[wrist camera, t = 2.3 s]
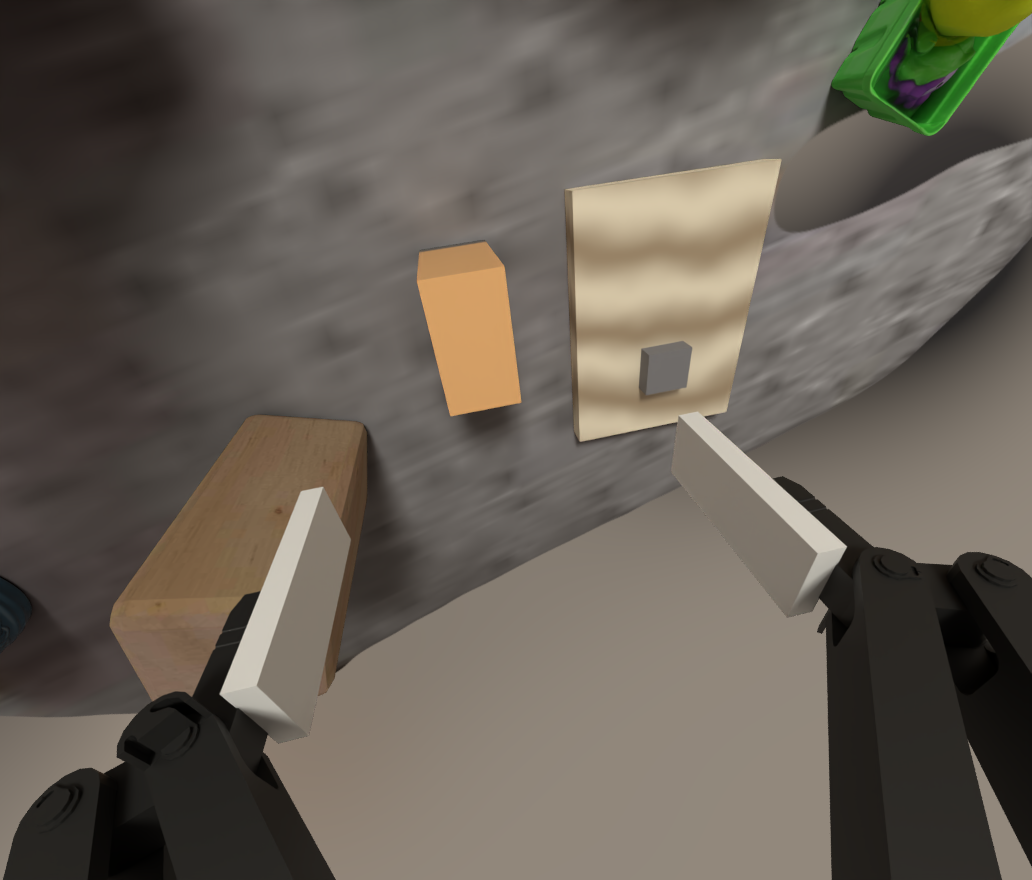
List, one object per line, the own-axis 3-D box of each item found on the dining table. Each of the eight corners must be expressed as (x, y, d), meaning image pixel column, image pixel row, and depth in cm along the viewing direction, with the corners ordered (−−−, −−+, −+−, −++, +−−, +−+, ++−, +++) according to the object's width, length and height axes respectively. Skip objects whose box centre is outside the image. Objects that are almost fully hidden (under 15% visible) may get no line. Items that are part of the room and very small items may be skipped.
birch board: (564, 189, 30) (572, 191, 28) (763, 159, 31) (781, 159, 30) (573, 431, 43) (579, 441, 41) (715, 402, 44) (726, 411, 42)
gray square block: (641, 348, 36) (649, 355, 35) (683, 340, 37) (692, 347, 35) (638, 387, 39) (646, 395, 37) (678, 380, 39) (686, 387, 38)
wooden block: (368, 417, 38) (323, 610, 21) (368, 498, 43) (332, 702, 27) (246, 409, 35) (90, 620, 19) (262, 495, 40) (151, 719, 24)
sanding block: (419, 250, 31) (416, 280, 22) (484, 239, 31) (504, 266, 23) (445, 359, 36) (450, 416, 28) (500, 349, 36) (521, 402, 28)
